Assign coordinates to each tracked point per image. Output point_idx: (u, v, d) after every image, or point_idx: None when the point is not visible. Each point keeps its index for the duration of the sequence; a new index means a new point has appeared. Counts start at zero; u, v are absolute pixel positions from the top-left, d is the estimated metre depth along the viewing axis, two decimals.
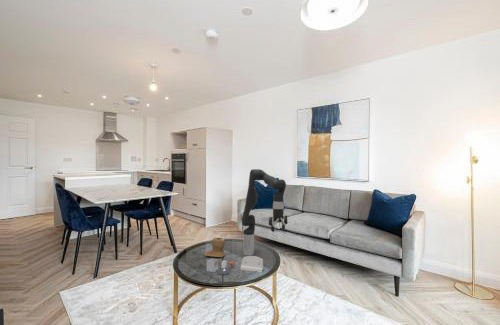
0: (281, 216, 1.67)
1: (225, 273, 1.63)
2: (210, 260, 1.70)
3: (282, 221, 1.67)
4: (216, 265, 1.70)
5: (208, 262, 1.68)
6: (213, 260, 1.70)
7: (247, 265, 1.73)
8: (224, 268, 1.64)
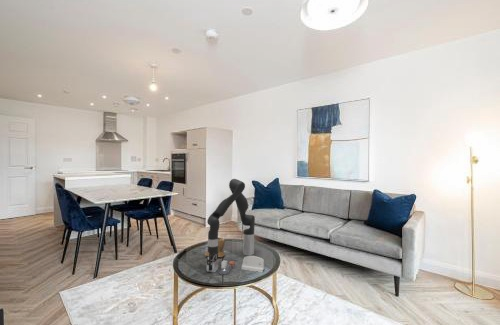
0: None
1: (225, 273, 1.63)
2: None
3: None
4: (216, 265, 1.70)
5: (208, 262, 1.68)
6: None
7: (248, 265, 1.73)
8: (224, 268, 1.64)
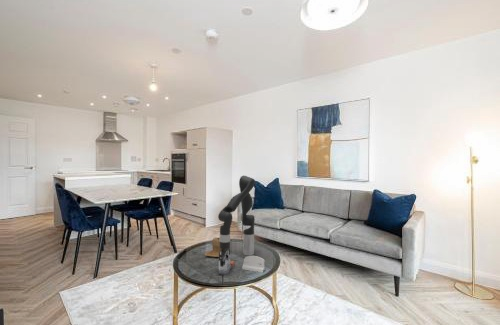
0: None
1: (225, 273, 1.63)
2: None
3: None
4: (228, 263, 1.66)
5: None
6: (225, 258, 1.66)
7: (249, 265, 1.74)
8: None
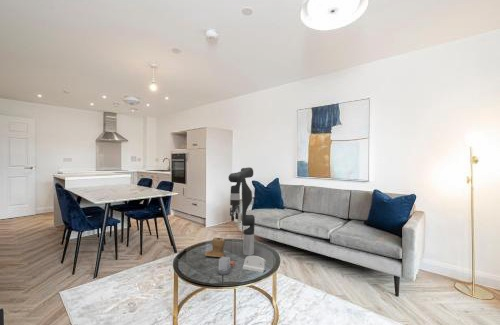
0: None
1: (225, 273, 1.63)
2: (222, 258, 1.66)
3: None
4: (228, 263, 1.66)
5: (220, 260, 1.64)
6: (225, 258, 1.66)
7: (249, 265, 1.74)
8: None
